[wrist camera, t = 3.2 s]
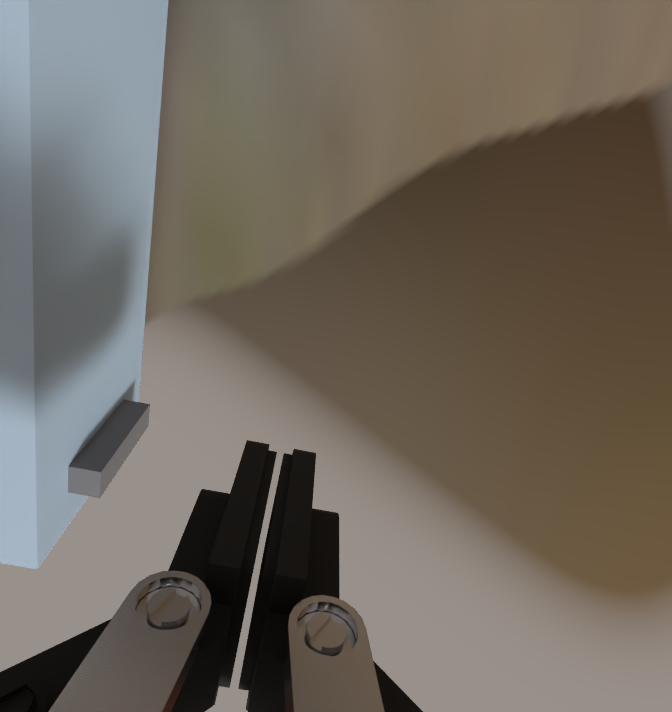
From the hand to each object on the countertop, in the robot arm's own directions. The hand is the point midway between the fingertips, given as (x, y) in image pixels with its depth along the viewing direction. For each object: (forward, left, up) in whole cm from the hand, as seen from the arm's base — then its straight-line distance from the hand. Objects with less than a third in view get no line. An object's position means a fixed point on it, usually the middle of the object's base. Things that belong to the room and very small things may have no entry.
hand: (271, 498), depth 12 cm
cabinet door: (+3, -7, -9) cm, 12 cm away
